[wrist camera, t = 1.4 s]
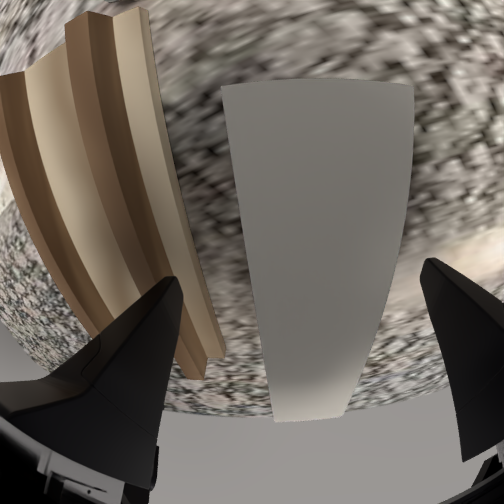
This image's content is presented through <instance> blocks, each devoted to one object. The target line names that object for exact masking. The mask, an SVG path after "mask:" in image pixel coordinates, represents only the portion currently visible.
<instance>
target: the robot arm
mask: <svg viewBox="0 0 504 504" xmlns="http://www.w3.org/2000/svg"><path fill="white" fill-rule="evenodd" d="M420 283H421V287H422V290H423V294H424V297H425V301H426V305H427V309H428V312H429V316H430V319H431V322H432V325H433V328H434V331H435V334H436V337H437V340H438V343H439V346H440V350H441V353H442V357H443V360H444V364H445V367H446V371H447V375H448V379H449V383H450V387H451V391H452V396H453V401H454V406H455V411H456V417H457V423H458V430H459V437H460V445H461V455H462V462H465V461H467V460H469V459H471V458H473V457H475V456H477V455H479V454H480V453H482V452H484V451H486V450H488V449H490V448H491V447H493V446H495V445H496V448H497V454H495V455H494V456H492V457H490V458H489V459H487V460H485V461H484V463H483V465H482V467H481V469H480V471H479V473H478V475H477V477H476V479H475V481H474V483H473V485H472V486H471V488H470V489H468V490H466V491H464V492H462V493H460V494H458V495H456V496H454V497H452V498H450V499H448V500H445V501H443V502H441V503H439V504H504V303H502V301H500V300H499V299H498V298H496V297H495V296H493V295H492V294H491V293H489V292H488V291H486V290H485V289H483V288H482V287H481V286H479V285H478V284H476V283H475V282H473V281H472V280H470V279H469V278H467V277H466V276H464V275H463V274H461V273H459V272H458V271H456V270H455V269H453V268H452V267H450V266H448V265H447V264H445V263H444V262H442V261H440V260H439V259H437V258H427V259H425V261H424V264H423V268H422V271H421V274H420ZM183 300H184V295H183V291H182V289H181V286H180V283H179V280H178V278H177V277H176V276H165V277H164V278H163V279H161V280H160V281H159V282H158V283H157V284H155V285H154V286H153V287H152V288H151V289H149V290H148V291H147V292H146V293H145V294H144V295H142V296H141V297H140V298H139V299H138V300H137V301H135V302H134V303H133V304H132V305H131V306H130V307H129V308H127V309H126V310H125V311H124V312H123V313H122V314H120V315H119V316H118V317H117V318H116V319H115V320H114V321H112V322H111V323H110V324H109V325H108V326H107V327H106V328H105V329H103V330H102V331H101V332H100V334H98V335H97V336H96V337H95V338H93V339H92V340H91V341H90V342H89V343H88V344H87V345H85V346H84V347H83V348H82V349H81V350H79V351H78V352H77V353H76V354H75V355H73V356H72V357H71V358H69V359H68V360H67V361H66V362H64V363H63V364H62V365H61V366H59V367H58V368H57V369H55V370H54V371H53V372H52V373H50V374H49V375H48V376H46V377H44V378H41V379H38V380H30V381H17V382H0V504H148V503H149V493H150V491H152V490H153V488H154V486H155V483H156V479H157V468H158V454H159V446H157V445H156V443H157V439H156V438H157V437H158V431H159V426H160V421H161V416H162V410H164V406H163V405H164V400H165V395H166V391H167V386H168V381H169V377H170V372H171V367H172V363H173V359H174V354H175V350H176V346H177V341H178V337H179V331H180V323H181V315H182V307H183Z"/></svg>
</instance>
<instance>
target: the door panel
mask: <svg viewBox="0 0 504 504" xmlns="http://www.w3.org/2000/svg"><path fill="white" fill-rule="evenodd" d="M220 88H221V95H222V101H223V108H224V114H225V121H226V128H227V134H228V141H229V147H230V154H231V160H232V166H233V173H234V179H235V186H236V192H237V198H238V205H239V211H240V217H241V224H242V230H243V236H244V242H245V248H246V255H247V261H248V267H249V273H250V279H251V286H252V292H253V298H254V304H255V310H256V316H257V322H258V328H259V334H260V340H261V346H262V352H263V358H264V364H265V370H266V376H267V382H268V388H269V394H270V399H271V405H272V411H273V417H274V422H293V421H307V420H318V419H327V418H336V417H342V416H343V414H344V412H345V410H346V408H347V405H348V403H349V401H350V399H351V397H352V394H353V392H354V390H355V388H356V385H357V383H358V381H359V378H360V376H361V373H362V371H363V368H364V366H365V363H366V361H367V358H368V356H369V353H370V350H371V347H372V345H373V342H374V339H375V336H376V333H377V330H378V327H379V324H380V321H381V318H382V315H383V311H384V308H385V305H386V301H387V298H388V294H389V291H390V287H391V283H392V279H393V275H394V271H395V267H396V263H397V258H398V254H399V249H400V244H401V239H402V234H403V228H404V223H405V217H406V210H407V204H408V196H409V188H410V180H411V170H412V157H413V141H414V86H411V85H405V84H398V83H390V82H382V81H371V80H358V79H337V78H302V79H281V80H267V81H257V82H248V83H240V84H232V85H225V86H220Z"/></svg>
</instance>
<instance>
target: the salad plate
mask: <svg viewBox="0 0 504 504" xmlns="http://www.w3.org/2000/svg"><path fill="white" fill-rule="evenodd" d="M105 1H107V2H109V3H113V2H118V1H121V0H105Z"/></svg>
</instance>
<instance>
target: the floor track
mask: <svg viewBox="0 0 504 504" xmlns="http://www.w3.org/2000/svg"><path fill="white" fill-rule="evenodd" d="M65 39H66V42H65V43H64V44H62V45H60V46H59V47H57V48H56V49H54V50H53V51H51V52H50V53H48V54H47V55H45V56H44V57H43V58H41V59H40V60H38V61H37V62H36V63H34V64H33V65H32V66H30V67H29V68H28V69H27V70H25V71H22V72H17V73H12V74H7V75H3V76H0V154H1V158H2V161H3V165H4V168H5V171H6V175H7V178H8V181H9V184H10V187H11V190H12V193H13V195H14V198H15V201H16V203H17V206H18V208H19V211H20V213H21V216H22V218H23V221H24V223H25V225H26V227H27V230H28V232H29V234H30V236H31V238H32V240H33V243H34V245H35V247H36V249H37V251H38V253H39V255H40V257H41V259H42V260H43V262H44V264H45V266H46V268H47V270H48V271H49V273H50V275H51V277H52V279H53V280H54V282H55V284H56V285H57V287H58V289H59V290H60V292H61V294H62V295H63V297H64V298H65V300H66V302H67V303H68V305H69V306H70V308H71V309H72V311H73V312H74V314H75V315H76V317H77V318H78V320H79V321H80V322H81V324H82V325H83V327H84V328H85V329H86V331H87V332H88V334H89V335H90V336H91V338H92V339H93V338H95V337H96V336H97V335H98V334H100V332H101V331H102V330H103V329H105V328H106V327H107V326H108V325H109V324H110V323H111V322H112V321H114V320H115V319H116V318H117V317H118V316H119V315H120V314H122V313H123V312H124V311H125V310H126V309H127V308H129V307H130V306H131V305H132V304H133V303H134V302H135V301H137V300H138V299H139V298H140V297H141V296H142V295H144V294H145V293H146V292H147V291H148V290H149V289H151V288H152V287H153V286H154V285H155V284H157V283H158V282H159V281H160V280H161V279H163V278H164V277H165V276H176V277H177V278H178V280H179V283H180V286H181V289H182V291H183V295H184V300H183V307H182V315H181V323H180V331H179V337H178V341H177V346H176V350H175V354H174V358H175V359H176V361H177V363H178V364H179V366H180V368H181V369H182V371H183V372H184V374H185V376H186V377H187V379H191V380H204V375H205V370H206V364H207V359H208V358H225V351H226V346H225V343H224V340H223V337H222V334H221V331H220V328H219V325H218V322H217V319H216V316H215V312H214V309H213V306H212V303H211V300H210V296H209V293H208V290H207V286H206V283H205V280H204V276H203V273H202V269H201V266H200V263H199V259H198V256H197V252H196V248H195V245H194V241H193V237H192V234H191V230H190V226H189V222H188V219H187V215H186V211H185V207H184V203H183V199H182V195H181V191H180V187H179V182H178V178H177V174H176V169H175V165H174V161H173V156H172V152H171V147H170V142H169V138H168V133H167V128H166V123H165V118H164V113H163V107H162V102H161V97H160V91H159V85H158V79H157V73H156V67H155V61H154V54H153V47H152V40H151V33H150V25H149V16H148V11H147V10H145V9H143V8H141V7H139V6H138V7H136V8H133V9H131V10H128V11H126V12H123V13H121V14H119V15H116V16H114V17H110V16H106V15H103V14H99V13H95V12H90V11H86V12H84V13H83V14H81V15H79V16H77V17H76V18H74V19H72V20H71V21H69V22H68V23H66V24H65Z"/></svg>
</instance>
